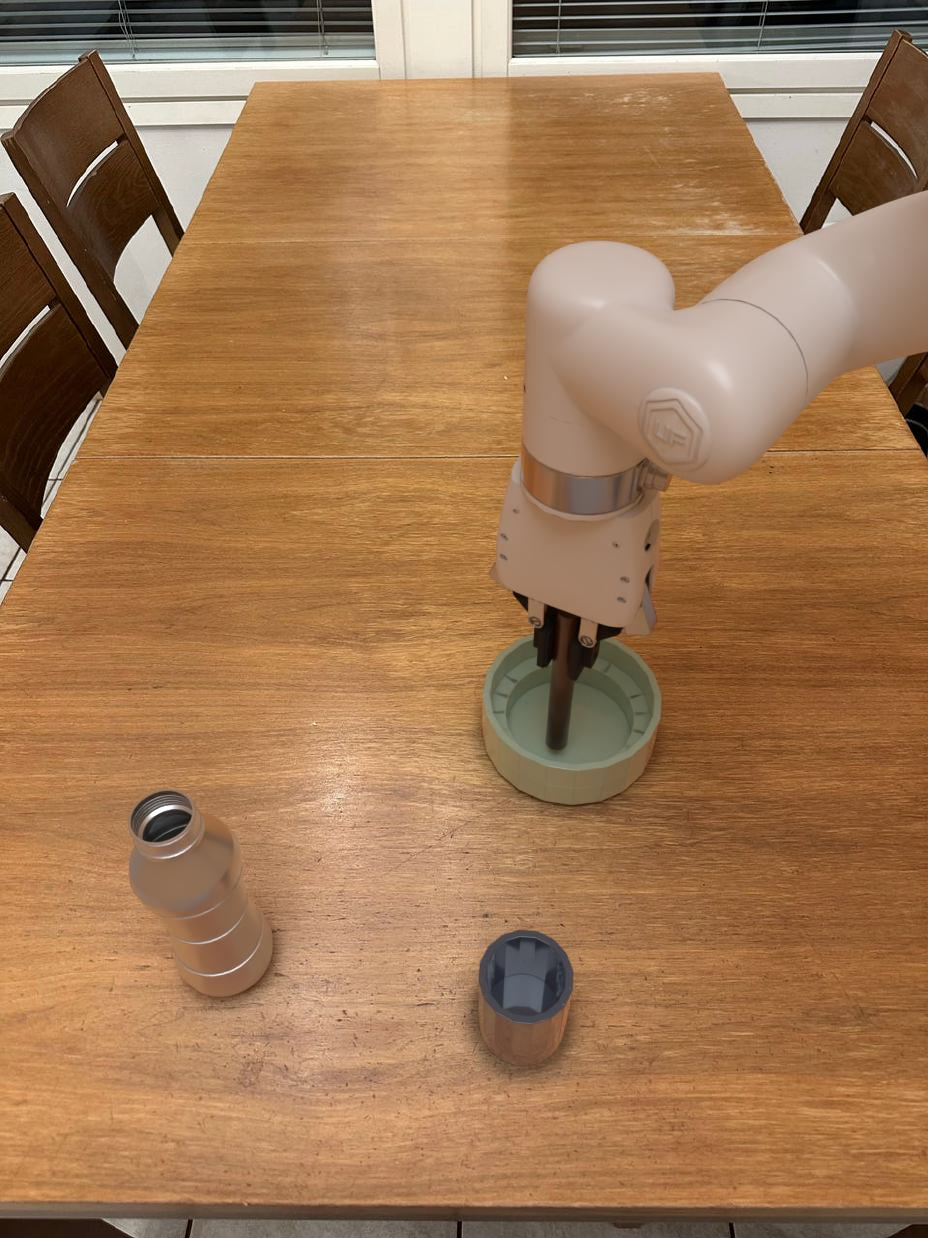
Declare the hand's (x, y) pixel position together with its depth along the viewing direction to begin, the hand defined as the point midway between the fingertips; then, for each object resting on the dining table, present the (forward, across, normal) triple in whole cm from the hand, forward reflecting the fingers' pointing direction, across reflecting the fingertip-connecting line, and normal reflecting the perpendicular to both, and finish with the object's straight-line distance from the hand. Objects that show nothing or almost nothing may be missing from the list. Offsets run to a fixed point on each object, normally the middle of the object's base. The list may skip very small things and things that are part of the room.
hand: (564, 659), depth 69 cm
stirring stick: (+11, 0, 0) cm, 11 cm away
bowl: (+12, 0, -2) cm, 13 cm away
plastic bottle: (+13, +13, +27) cm, 32 cm away
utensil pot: (+12, -7, +21) cm, 25 cm away
